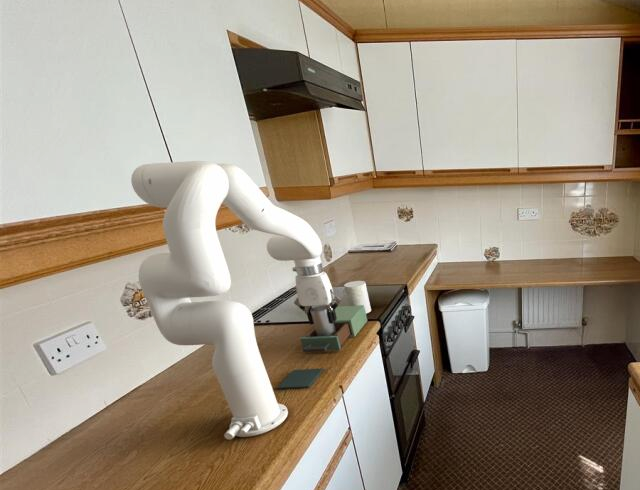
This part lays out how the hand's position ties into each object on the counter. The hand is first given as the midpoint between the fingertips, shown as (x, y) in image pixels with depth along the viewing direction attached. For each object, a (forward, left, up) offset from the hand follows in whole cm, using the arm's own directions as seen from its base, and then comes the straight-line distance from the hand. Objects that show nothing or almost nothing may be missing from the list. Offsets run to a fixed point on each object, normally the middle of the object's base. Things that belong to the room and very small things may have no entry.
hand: (323, 322), depth 136 cm
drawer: (-2, 0, -8) cm, 8 cm away
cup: (+31, -1, -9) cm, 33 cm away
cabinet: (+13, 0, -9) cm, 16 cm away
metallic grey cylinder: (0, 0, -4) cm, 4 cm away
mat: (-23, -1, -9) cm, 24 cm away
